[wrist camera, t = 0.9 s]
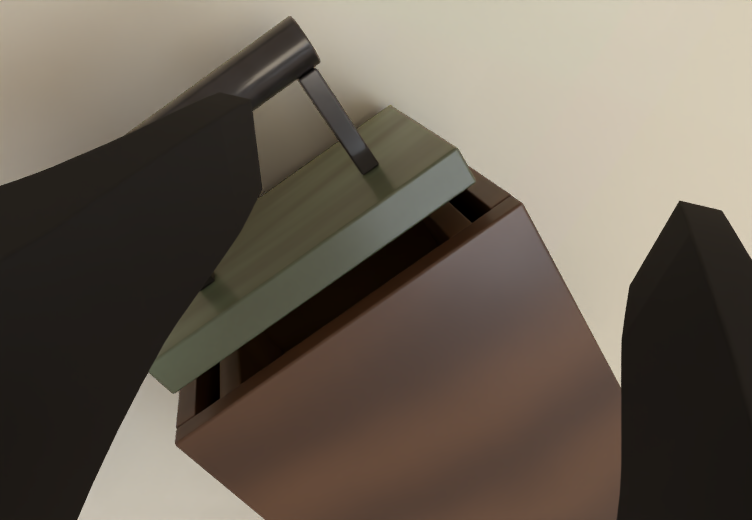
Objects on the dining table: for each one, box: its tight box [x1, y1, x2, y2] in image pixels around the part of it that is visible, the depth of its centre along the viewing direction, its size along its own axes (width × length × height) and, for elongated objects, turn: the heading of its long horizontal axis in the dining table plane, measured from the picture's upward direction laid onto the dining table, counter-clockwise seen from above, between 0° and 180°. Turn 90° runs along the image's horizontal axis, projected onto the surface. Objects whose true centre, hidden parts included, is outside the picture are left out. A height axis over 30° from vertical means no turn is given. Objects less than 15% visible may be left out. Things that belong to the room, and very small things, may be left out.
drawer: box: [124, 16, 476, 398], centre depth 20 cm, size 18×10×7 cm, turn 33°
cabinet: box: [175, 166, 621, 520], centre depth 23 cm, size 14×11×8 cm
